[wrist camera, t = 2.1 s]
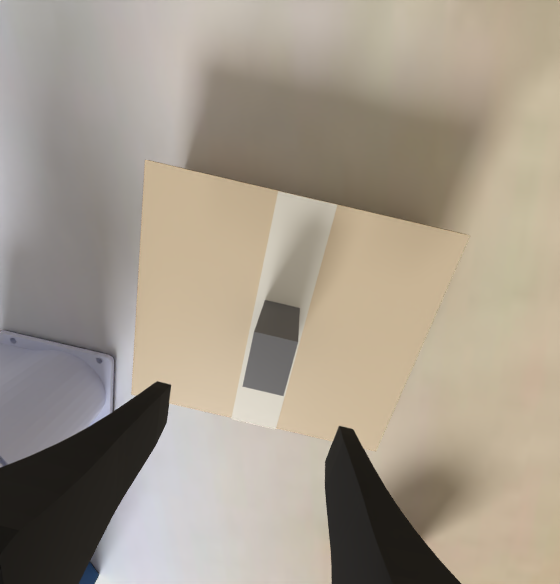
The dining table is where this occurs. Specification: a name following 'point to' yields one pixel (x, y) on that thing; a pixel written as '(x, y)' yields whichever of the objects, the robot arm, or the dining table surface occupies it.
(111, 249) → the dining table surface
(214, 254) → the carton lid
